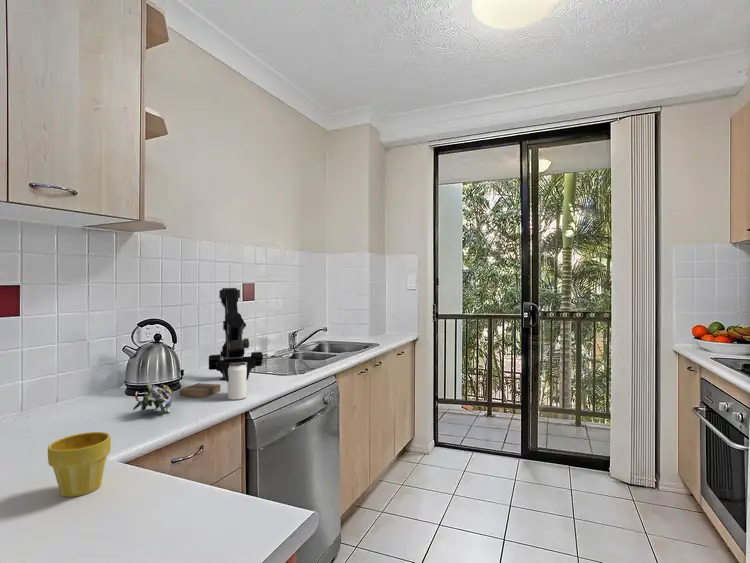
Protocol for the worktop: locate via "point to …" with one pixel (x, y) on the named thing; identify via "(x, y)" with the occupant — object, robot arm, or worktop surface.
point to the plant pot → (79, 462)
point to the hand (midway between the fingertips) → (237, 380)
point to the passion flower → (156, 398)
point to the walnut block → (200, 390)
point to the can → (237, 381)
